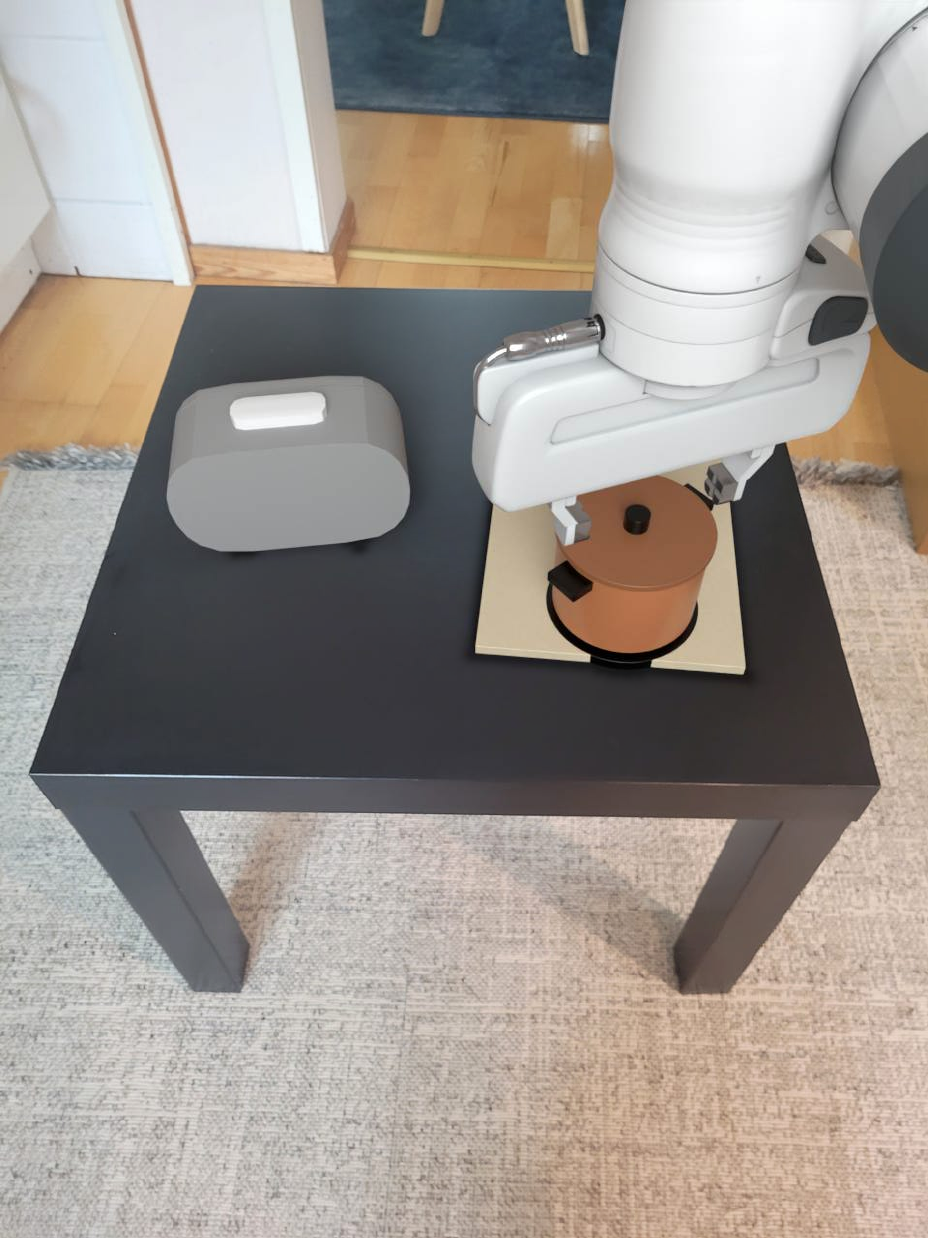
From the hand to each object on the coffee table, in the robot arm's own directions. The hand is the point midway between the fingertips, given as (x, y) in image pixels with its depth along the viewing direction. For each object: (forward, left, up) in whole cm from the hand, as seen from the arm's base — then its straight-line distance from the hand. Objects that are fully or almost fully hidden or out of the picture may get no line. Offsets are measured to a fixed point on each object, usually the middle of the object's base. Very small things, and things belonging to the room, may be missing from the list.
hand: (647, 515), depth 53 cm
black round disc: (-1, -14, -25) cm, 28 cm away
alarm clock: (+29, -22, -25) cm, 44 cm away
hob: (0, -28, -25) cm, 37 cm away
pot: (-1, -14, -24) cm, 27 cm away
